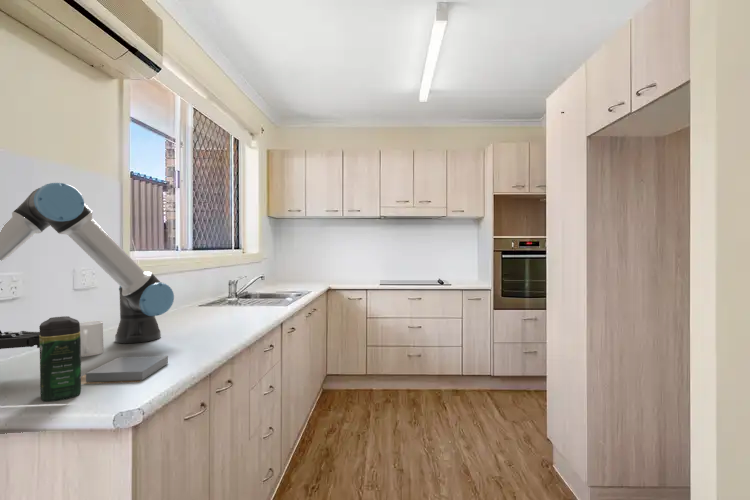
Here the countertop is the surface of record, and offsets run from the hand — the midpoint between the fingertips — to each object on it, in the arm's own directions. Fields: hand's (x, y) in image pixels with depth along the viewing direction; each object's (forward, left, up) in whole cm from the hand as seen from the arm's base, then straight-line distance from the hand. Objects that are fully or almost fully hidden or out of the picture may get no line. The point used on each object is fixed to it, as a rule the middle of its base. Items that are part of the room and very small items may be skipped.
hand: (69, 338), depth 121 cm
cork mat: (-6, +12, -10) cm, 17 cm away
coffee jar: (+12, +15, -11) cm, 22 cm away
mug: (-17, -17, -11) cm, 27 cm away
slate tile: (-4, +8, -9) cm, 12 cm away
